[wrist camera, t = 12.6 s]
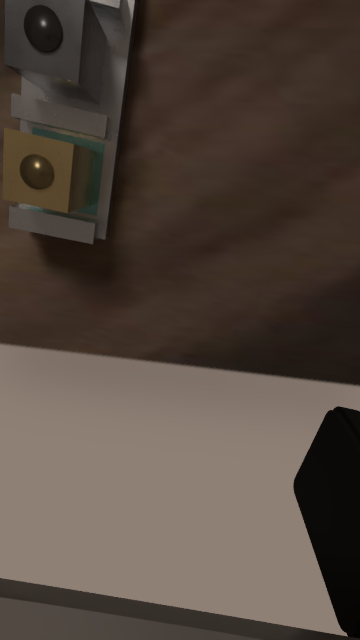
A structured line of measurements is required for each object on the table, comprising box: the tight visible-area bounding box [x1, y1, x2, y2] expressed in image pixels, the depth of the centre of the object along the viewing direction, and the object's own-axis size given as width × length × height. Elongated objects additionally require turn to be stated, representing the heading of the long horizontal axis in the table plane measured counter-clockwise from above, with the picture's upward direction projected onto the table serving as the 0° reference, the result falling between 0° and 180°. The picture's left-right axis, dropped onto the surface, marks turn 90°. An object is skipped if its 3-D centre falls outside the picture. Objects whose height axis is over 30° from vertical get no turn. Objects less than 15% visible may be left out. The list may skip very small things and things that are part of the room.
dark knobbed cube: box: [5, 0, 107, 104], centre depth 24 cm, size 4×4×7 cm
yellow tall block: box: [3, 128, 96, 213], centre depth 27 cm, size 4×4×7 cm
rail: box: [9, 0, 139, 244], centre depth 27 cm, size 8×26×5 cm, turn 168°
